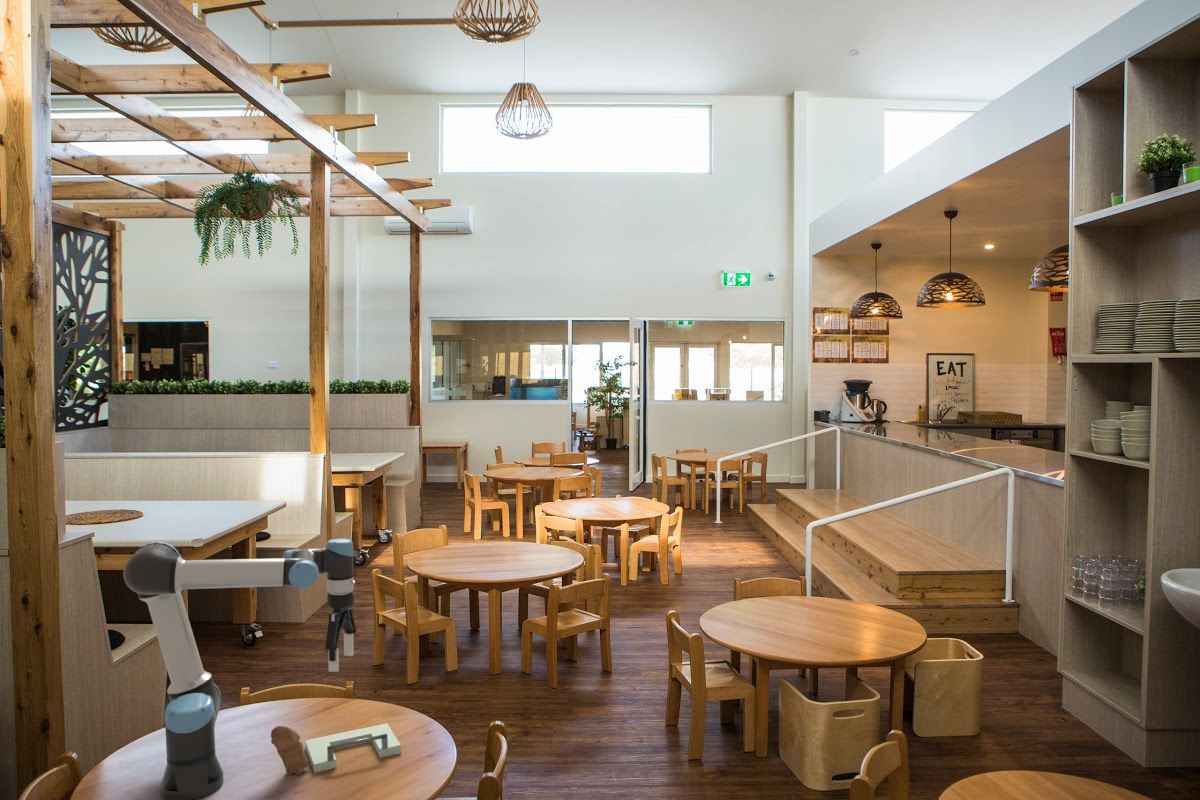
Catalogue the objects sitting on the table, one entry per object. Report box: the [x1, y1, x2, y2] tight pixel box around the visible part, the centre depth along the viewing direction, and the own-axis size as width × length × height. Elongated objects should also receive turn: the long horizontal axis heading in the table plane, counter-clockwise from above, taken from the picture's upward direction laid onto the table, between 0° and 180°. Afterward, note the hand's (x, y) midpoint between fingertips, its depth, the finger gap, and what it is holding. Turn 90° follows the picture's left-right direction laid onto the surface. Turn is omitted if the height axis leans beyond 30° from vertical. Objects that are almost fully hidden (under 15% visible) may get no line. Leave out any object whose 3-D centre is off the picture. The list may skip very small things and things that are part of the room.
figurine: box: [270, 725, 311, 775], centre depth 230 cm, size 8×8×15 cm
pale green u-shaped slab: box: [304, 722, 402, 774], centre depth 244 cm, size 24×17×2 cm
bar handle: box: [327, 734, 388, 761], centre depth 237 cm, size 16×1×4 cm, turn 117°
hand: (341, 663), depth 248 cm, fingers open, 13 cm apart
